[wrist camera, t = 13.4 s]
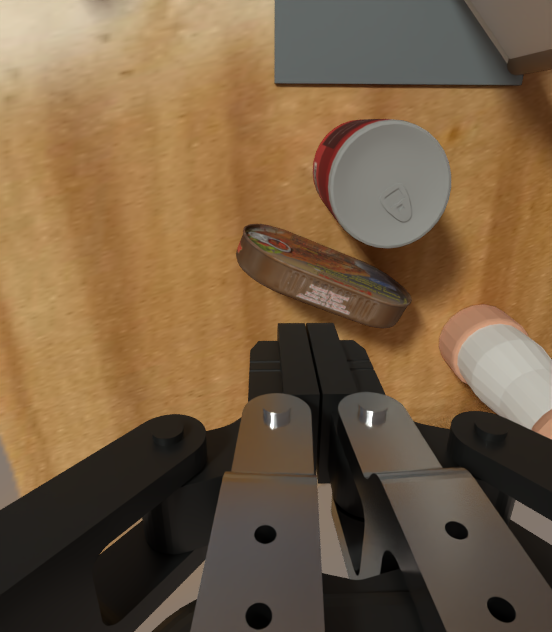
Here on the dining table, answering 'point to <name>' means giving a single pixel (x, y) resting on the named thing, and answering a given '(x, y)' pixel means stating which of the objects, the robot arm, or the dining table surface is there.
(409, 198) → the canned food
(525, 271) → the dining table surface
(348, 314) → the tin
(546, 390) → the salt shaker
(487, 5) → the fence fixed
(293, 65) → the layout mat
